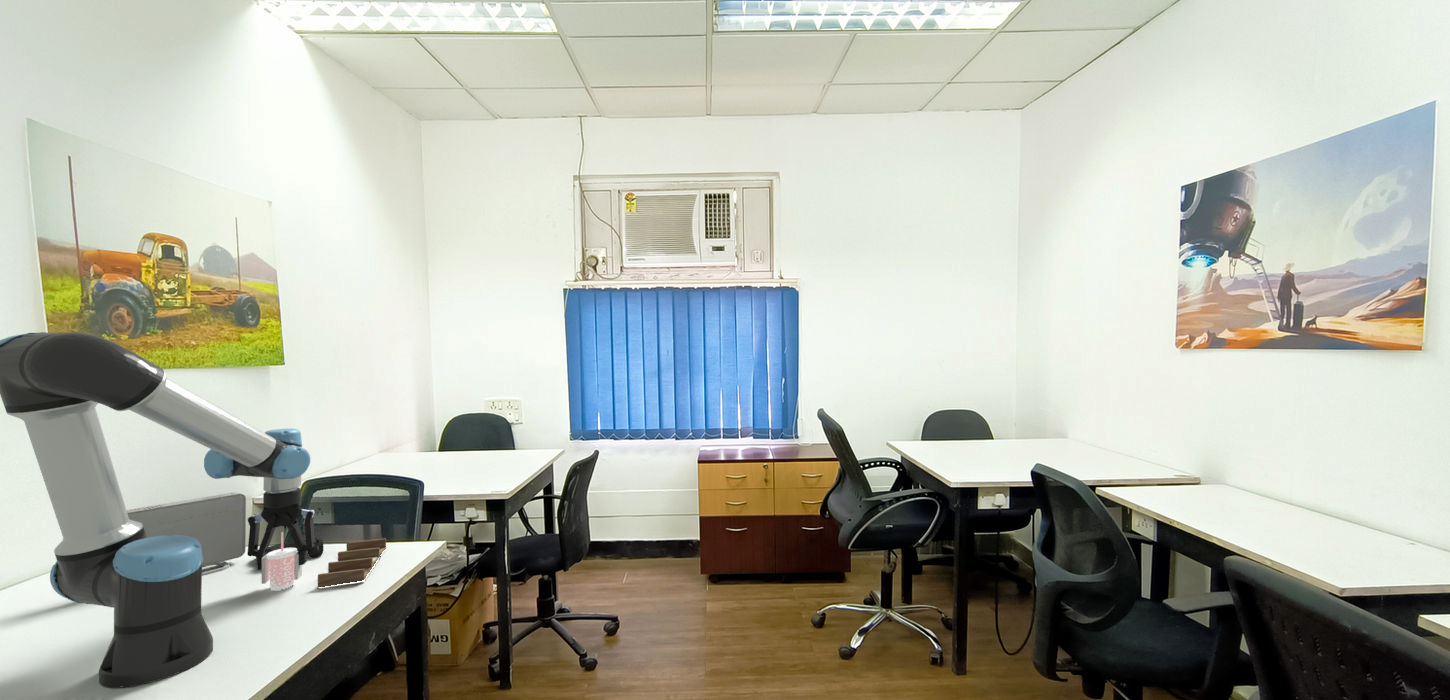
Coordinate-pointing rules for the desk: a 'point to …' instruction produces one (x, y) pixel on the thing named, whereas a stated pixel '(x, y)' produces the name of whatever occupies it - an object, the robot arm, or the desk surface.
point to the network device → (201, 525)
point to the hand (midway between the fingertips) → (282, 579)
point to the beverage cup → (281, 567)
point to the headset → (311, 553)
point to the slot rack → (353, 562)
